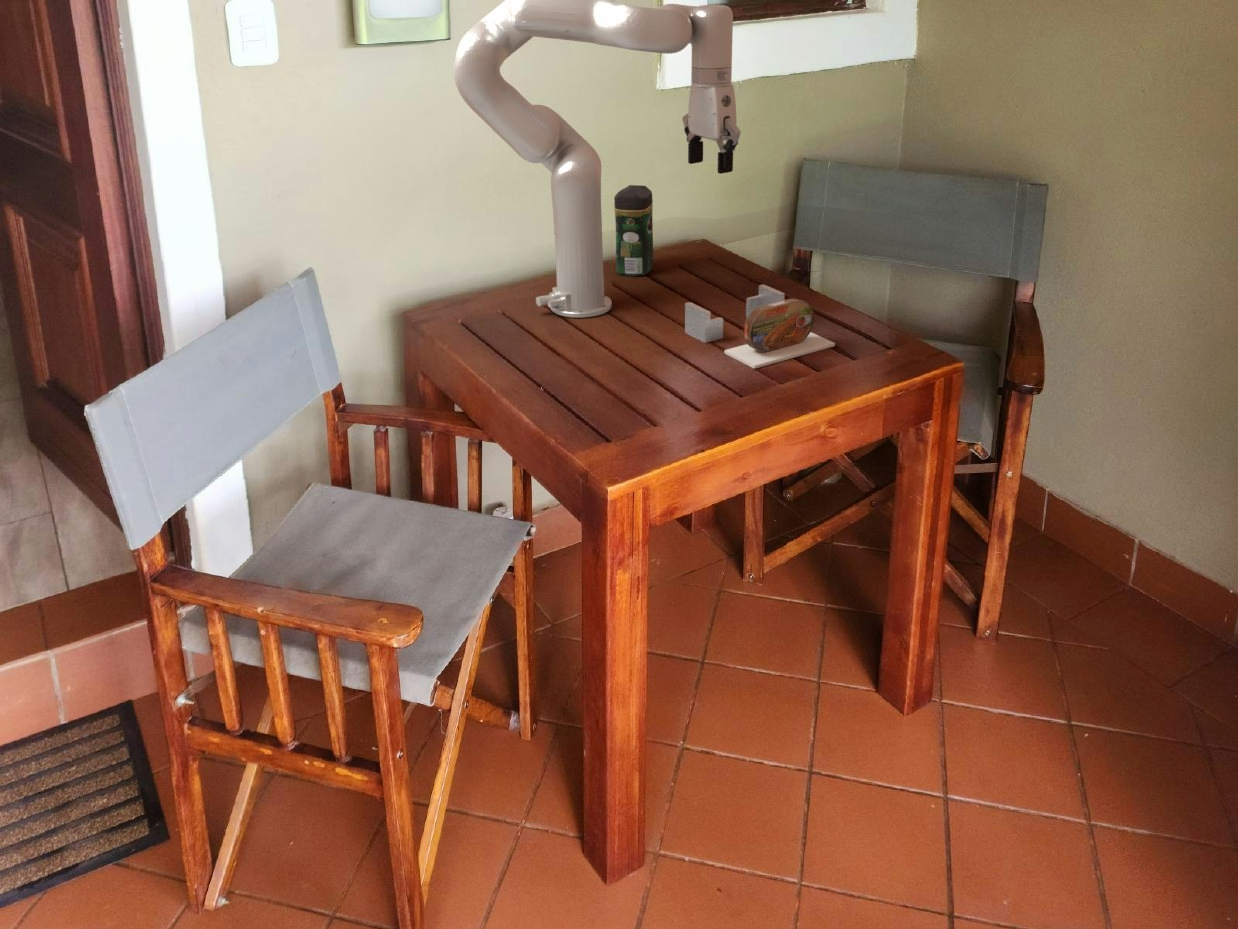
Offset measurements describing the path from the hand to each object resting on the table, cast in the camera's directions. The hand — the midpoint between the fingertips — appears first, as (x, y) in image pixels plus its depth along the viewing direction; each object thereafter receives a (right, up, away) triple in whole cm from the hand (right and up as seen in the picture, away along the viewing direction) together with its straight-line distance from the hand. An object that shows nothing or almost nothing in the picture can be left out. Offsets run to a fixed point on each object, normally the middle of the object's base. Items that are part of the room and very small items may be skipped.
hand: (710, 167), depth 228 cm
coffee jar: (-14, -14, +34) cm, 40 cm away
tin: (+12, -36, -8) cm, 39 cm away
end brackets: (+5, -31, +2) cm, 31 cm away
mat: (+12, -36, -9) cm, 39 cm away
